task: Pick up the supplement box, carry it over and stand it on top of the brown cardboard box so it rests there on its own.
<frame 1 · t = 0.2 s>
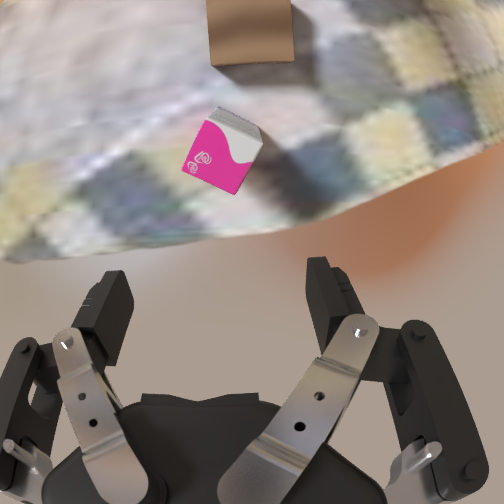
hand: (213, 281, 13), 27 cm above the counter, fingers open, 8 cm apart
supplement box: (227, 135, 35), on the counter
brown cardboard box: (248, 30, 28), on the counter
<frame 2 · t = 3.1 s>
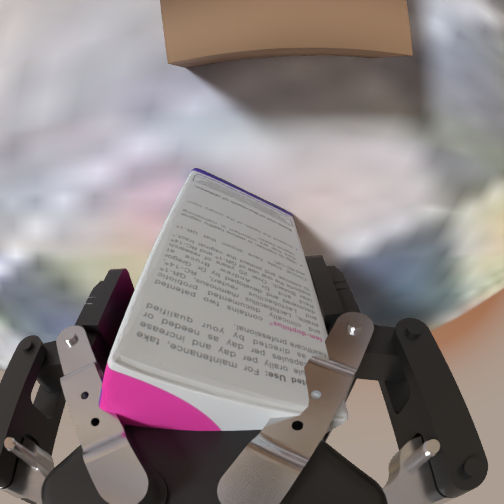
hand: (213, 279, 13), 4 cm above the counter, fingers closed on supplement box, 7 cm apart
supplement box: (219, 231, 16), on the counter, touching gripper
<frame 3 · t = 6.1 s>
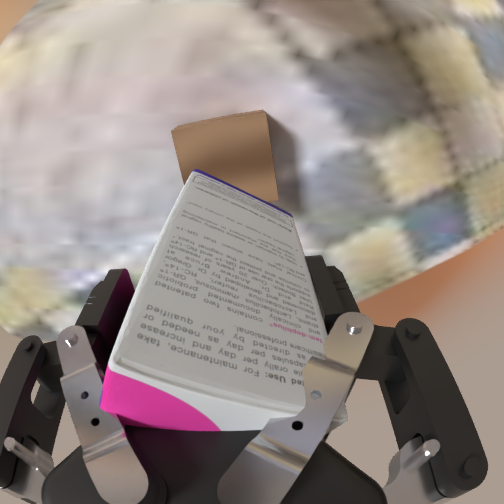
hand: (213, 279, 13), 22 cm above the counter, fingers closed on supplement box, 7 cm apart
supplement box: (219, 232, 16), point 17 cm above the counter, touching gripper
brown cardboard box: (227, 156, 32), on the counter
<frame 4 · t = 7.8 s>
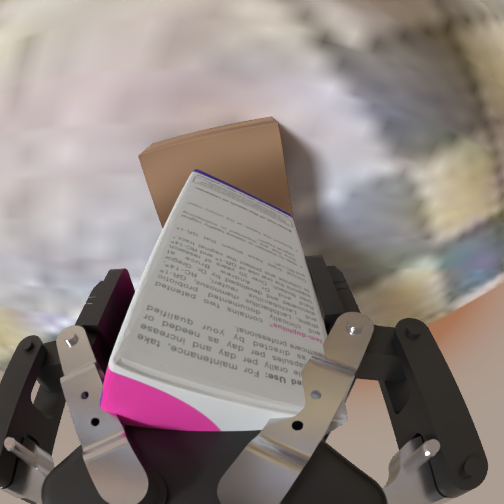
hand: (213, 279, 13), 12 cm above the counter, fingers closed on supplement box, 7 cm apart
supplement box: (219, 232, 16), point 8 cm above the counter, touching gripper
brown cardboard box: (223, 182, 23), on the counter
when the fingers open (10 cm above the counter, at t = 9.4 s): supplement box drops 2 cm, resting on brown cardboard box.
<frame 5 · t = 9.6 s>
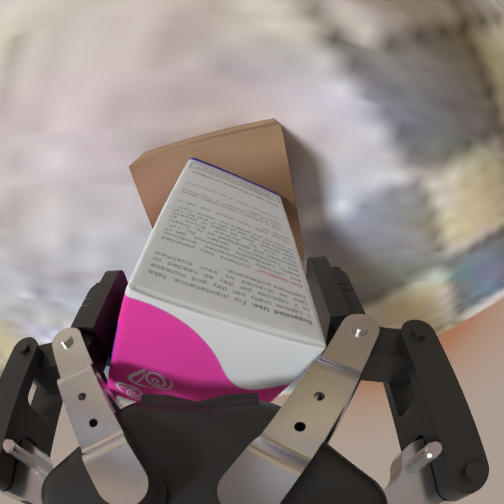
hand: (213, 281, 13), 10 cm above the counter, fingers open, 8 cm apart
supplement box: (215, 213, 18), point 3 cm above the counter, touching gripper, brown cardboard box
brown cardboard box: (223, 191, 21), on the counter, touching supplement box
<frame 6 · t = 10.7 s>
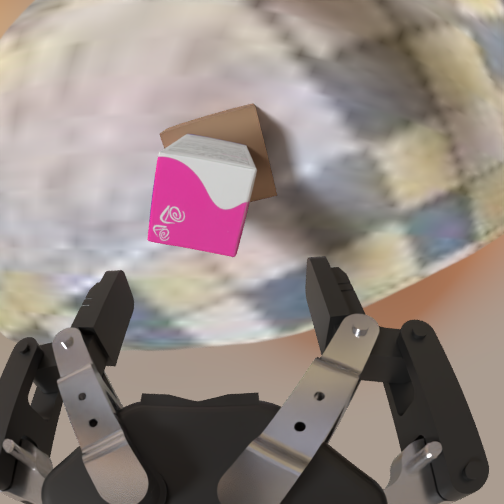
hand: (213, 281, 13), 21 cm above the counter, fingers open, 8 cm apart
supplement box: (209, 167, 27), point 4 cm above the counter, touching brown cardboard box
brown cardboard box: (221, 154, 30), on the counter, touching supplement box
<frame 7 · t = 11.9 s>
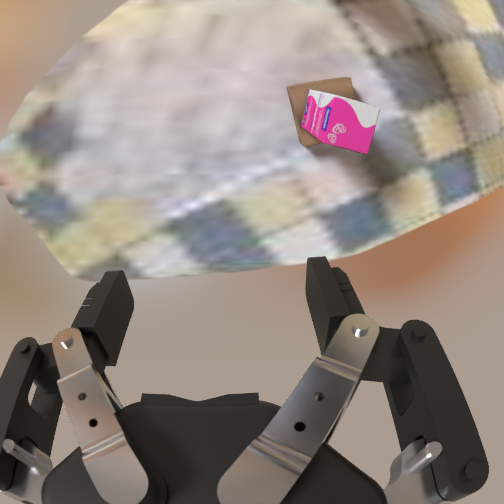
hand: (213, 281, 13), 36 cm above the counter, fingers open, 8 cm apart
supplement box: (322, 111, 38), point 3 cm above the counter, touching brown cardboard box
brown cardboard box: (320, 108, 42), on the counter, touching supplement box
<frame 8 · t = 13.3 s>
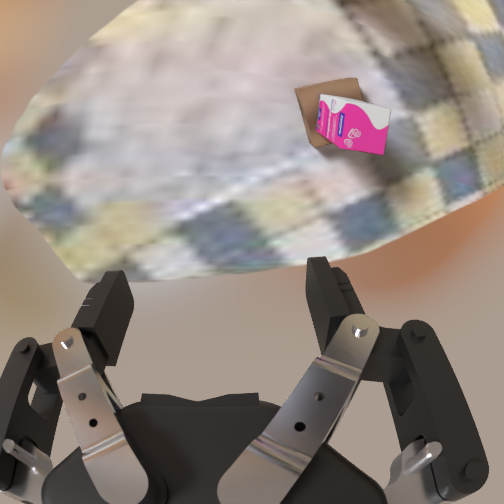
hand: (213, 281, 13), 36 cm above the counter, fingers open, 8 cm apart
supplement box: (334, 114, 39), point 3 cm above the counter
brown cardboard box: (328, 109, 42), on the counter
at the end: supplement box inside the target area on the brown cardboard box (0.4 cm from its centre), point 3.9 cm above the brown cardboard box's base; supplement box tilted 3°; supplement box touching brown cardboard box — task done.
